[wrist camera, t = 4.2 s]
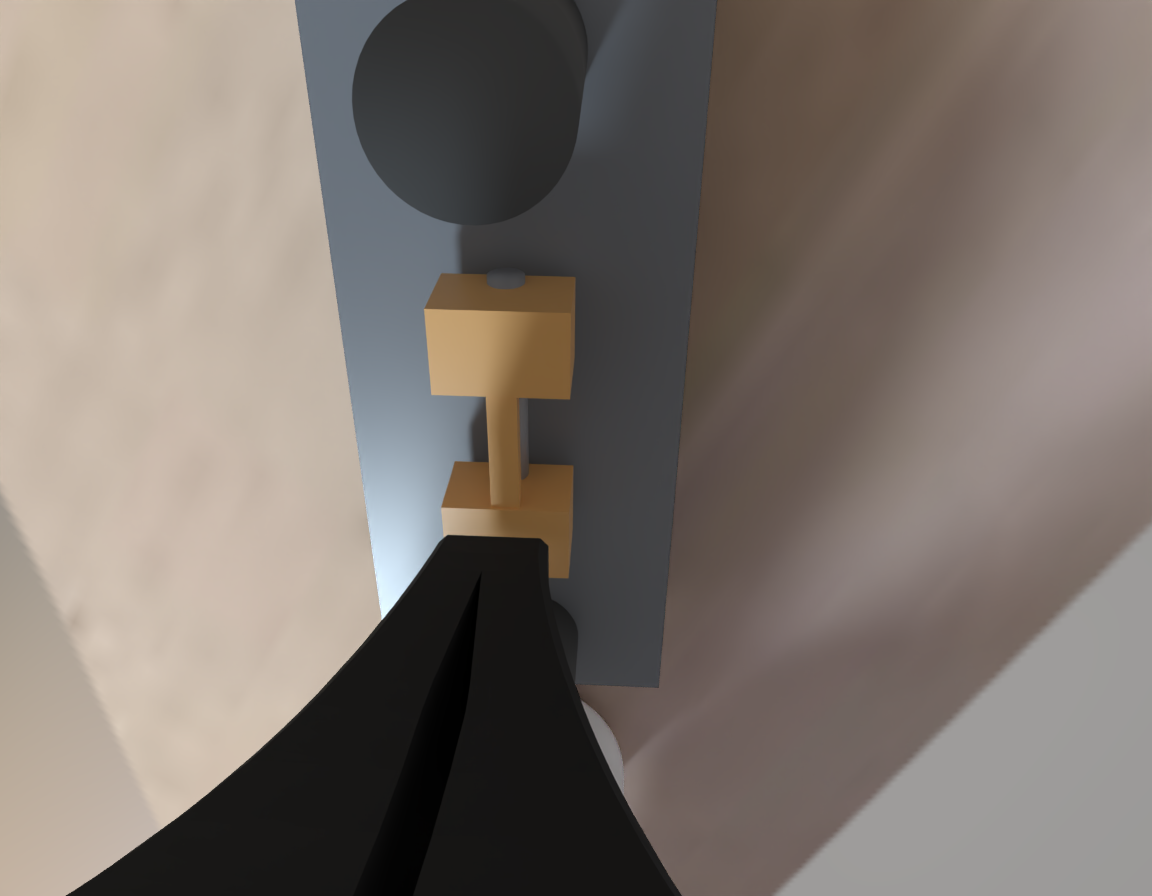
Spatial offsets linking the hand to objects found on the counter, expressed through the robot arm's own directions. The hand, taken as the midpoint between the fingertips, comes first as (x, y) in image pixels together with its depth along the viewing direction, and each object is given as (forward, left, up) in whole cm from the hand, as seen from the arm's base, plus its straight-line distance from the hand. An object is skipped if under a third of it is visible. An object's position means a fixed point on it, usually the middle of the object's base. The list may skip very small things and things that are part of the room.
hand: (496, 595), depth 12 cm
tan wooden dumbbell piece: (+1, +1, -2) cm, 3 cm away
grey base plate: (+1, +1, -5) cm, 5 cm away
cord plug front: (+5, +4, -3) cm, 7 cm away
